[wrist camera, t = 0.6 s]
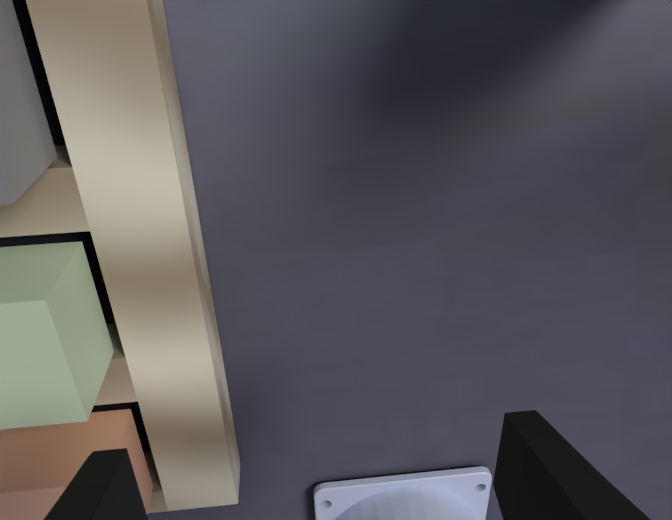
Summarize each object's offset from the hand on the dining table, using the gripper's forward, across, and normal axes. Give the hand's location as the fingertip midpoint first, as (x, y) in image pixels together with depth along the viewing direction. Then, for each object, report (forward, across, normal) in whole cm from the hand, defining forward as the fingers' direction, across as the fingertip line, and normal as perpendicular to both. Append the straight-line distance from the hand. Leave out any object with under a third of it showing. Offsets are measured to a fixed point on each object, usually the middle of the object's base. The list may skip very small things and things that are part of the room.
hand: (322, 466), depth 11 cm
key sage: (+7, +8, 0) cm, 11 cm away
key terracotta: (+7, +8, +7) cm, 13 cm away
